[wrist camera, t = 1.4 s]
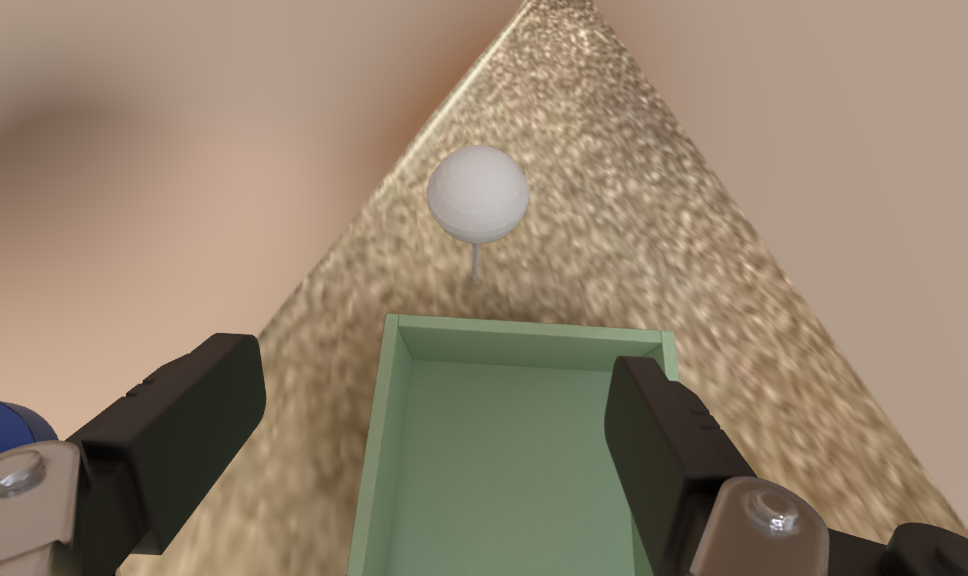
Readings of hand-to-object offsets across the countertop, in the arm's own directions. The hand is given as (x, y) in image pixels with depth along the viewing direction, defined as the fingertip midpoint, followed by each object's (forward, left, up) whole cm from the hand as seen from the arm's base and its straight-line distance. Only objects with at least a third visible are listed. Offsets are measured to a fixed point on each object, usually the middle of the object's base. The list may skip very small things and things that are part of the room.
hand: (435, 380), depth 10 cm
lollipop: (0, +14, -25) cm, 29 cm away
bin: (+4, -3, -25) cm, 25 cm away
